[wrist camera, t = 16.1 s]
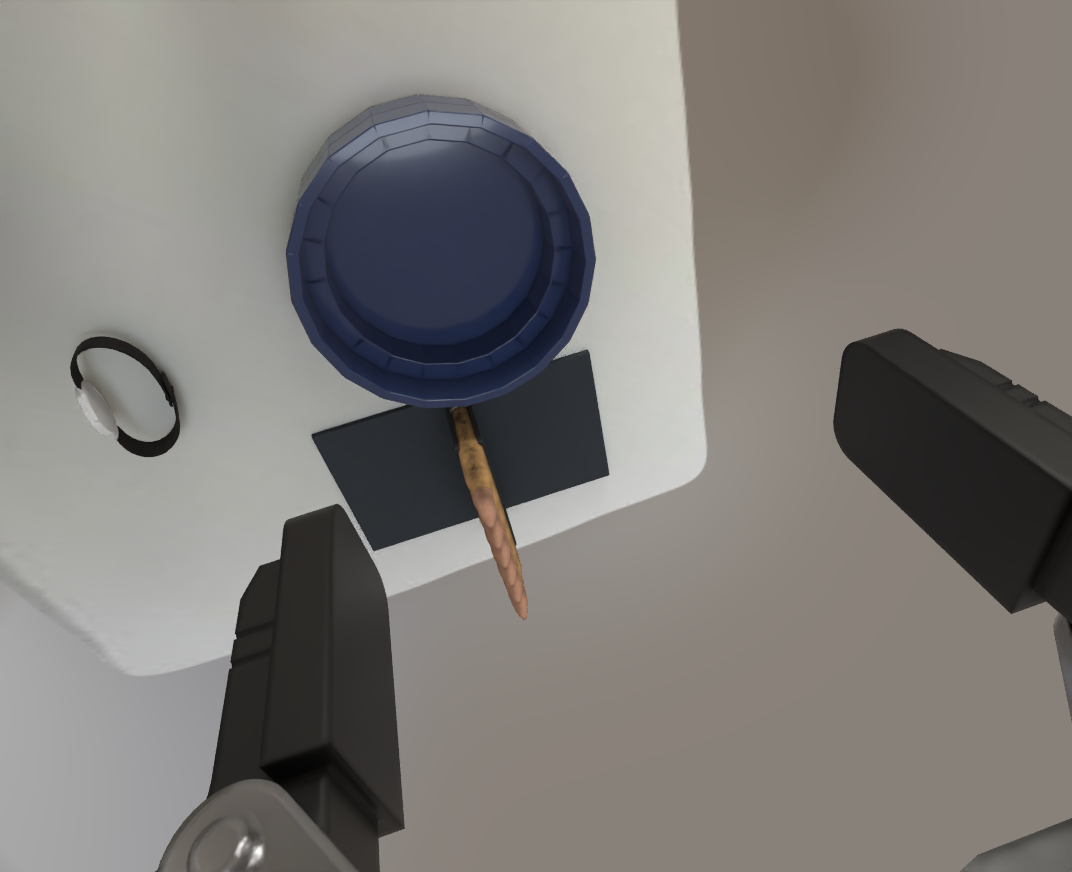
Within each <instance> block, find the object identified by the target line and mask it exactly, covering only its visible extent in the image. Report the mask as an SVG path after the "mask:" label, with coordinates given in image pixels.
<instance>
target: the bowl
mask: <svg viewBox="0 0 1072 872" xmlns="http://www.w3.org/2000/svg"><path fill="white" fill-rule="evenodd" d="M286 260H287V269H288V277H289V286H290V294H291V301H292V304H293V306H294V308H295V310H296V312H297V314H298V316H299V318H300V320H301V323H302V325H303V327H304V329H305V331H306V333H307V335H308V337H309V339H310V341H311V343H312V344H313V346H314V347H315V348H316V349H317V350H318V351H319V352H320V353H321V354H322V355H323V356H324V357H325V358H326V359H327V360H328V361H329V362H330V363H331V364H332V365H333V366H334V367H335V368H336V369H337V370H338V371H339V372H340V374H341V375H342V376H344V377H345V378H346V379H348V380H350V381H352V382H354V383H355V384H357V385H359V386H361V387H363V388H364V389H366V390H368V391H370V392H372V393H373V394H375V395H377V396H379V397H381V398H383V399H387V400H391V401H396V402H400V403H404V404H408V405H413V406H417V407H421V408H442V407H466V406H470V405H473V404H476V403H480V402H483V401H486V400H489V399H493V398H496V397H499V396H502V395H505V394H507V393H509V392H511V391H512V390H514V389H515V388H517V387H519V386H520V385H522V384H523V383H525V382H527V381H528V380H530V379H531V378H533V377H534V376H536V375H538V374H539V373H541V372H542V371H543V370H544V369H545V368H546V367H547V365H548V364H549V363H550V362H551V361H552V360H553V359H554V358H555V357H556V356H557V355H558V353H559V352H560V351H561V350H562V349H563V348H564V347H565V346H566V345H567V344H568V343H569V341H570V340H571V338H572V336H573V334H574V332H575V330H576V328H577V326H578V324H579V322H580V320H581V318H582V316H583V313H584V311H585V309H586V307H587V305H588V303H589V297H590V291H591V285H592V280H593V274H594V268H595V262H596V261H595V260H596V257H595V250H594V243H593V236H592V229H591V222H590V216H589V213H588V211H587V209H586V207H585V205H584V203H583V201H582V199H581V197H580V195H579V193H578V191H577V189H576V187H575V185H574V183H573V181H572V179H571V177H570V175H569V173H567V171H566V170H565V169H564V168H563V167H562V166H561V165H560V164H559V163H558V162H557V161H556V160H555V159H554V158H553V157H552V156H551V155H550V154H549V153H548V152H547V151H546V150H545V149H544V148H543V147H542V146H541V145H540V144H539V143H538V142H536V141H535V140H534V139H533V138H532V137H531V136H530V135H529V134H528V133H526V132H525V131H524V130H523V129H522V128H521V127H520V126H518V125H517V124H516V123H515V122H514V121H513V120H511V119H510V118H507V117H505V116H503V115H501V114H499V113H497V112H495V111H492V110H490V109H488V108H486V107H484V106H482V105H480V104H477V103H475V102H473V101H471V100H469V99H468V100H467V99H464V98H453V97H443V96H432V95H421V94H420V95H413V96H409V97H406V98H402V99H398V100H394V101H391V102H387V103H383V104H380V105H376V106H372V107H370V108H368V109H367V110H365V111H364V112H362V113H361V114H360V115H358V116H357V117H355V118H354V119H353V120H351V121H350V122H348V123H347V124H346V125H344V126H343V127H341V128H340V129H339V130H337V131H336V132H334V133H333V134H332V135H331V136H330V137H328V139H327V140H326V142H325V143H324V145H323V146H322V148H321V149H320V151H319V152H318V154H317V155H316V157H315V158H314V160H313V161H312V163H311V164H310V166H309V167H308V169H307V170H306V172H305V173H304V175H303V177H302V181H301V185H300V189H299V193H298V197H297V202H296V206H295V210H294V214H293V219H292V223H291V228H290V233H289V238H288V243H287V248H286Z"/></svg>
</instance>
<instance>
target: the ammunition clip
mask: <svg viewBox="0 0 1072 872" xmlns="http://www.w3.org/2000/svg"><path fill="white" fill-rule="evenodd" d="M444 408H445V413H446V417H447V421H448V425H449V429H450V433H451V437H452V441H453V445H454V449H455V452H456V455H457V457H458V460H459V463H460V466H461V468H462V471H463V474H464V478H465V481H466V484H467V486H468V488H469V490H470V493H471V496H472V500H473V503H474V505H475V507H476V509H477V511H478V515H479V519H480V522H481V524H482V526H483V528H484V531H485V534H486V538H487V540H488V543H489V544H490V546H491V550H492V554H493V556H494V559H495V561H496V562H497V566H498V569H499V573H500V575H501V577H502V578H503V581H504V584H505V586H506V589H507V591H508V594H509V597H510V600H511V602H512V605H513V606H514V609H515V610H516V612H517V614H518V615H519V616H520V617H521V618H522V619H523V620H525V619H526V617H527V612H528V605H527V596H526V591H525V587H524V582H523V578H522V569H521V563H520V560H519V557H518V553H517V550H516V546H515V545H516V540H515V537H514V534H513V531H512V528H511V524H510V521H509V518H508V515H507V511H506V508H505V505H504V502H503V499H502V495H501V492H500V489H499V486H498V483H497V480H496V477H495V474H494V471H493V468H492V465H491V462H490V459H489V456H488V453H487V450H486V447H485V444H484V441H483V438H482V435H481V432H480V429H479V426H478V423H477V419H476V416H475V413H474V410H473V407H472V405H470V406H466V407H444Z"/></svg>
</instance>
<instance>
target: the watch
mask: <svg viewBox="0 0 1072 872" xmlns="http://www.w3.org/2000/svg"><path fill="white" fill-rule="evenodd" d="M90 348H109V349H113V350H117V351H119V352H122V353H125V354H127V355H129V356H131V357H132V358H134V359H136V360H137V361H139V362H140V363H141V364H142V365H143V366H145V367H146V368H147V369H148V370H149V371H150V372H151V374H152V375H153V376H154V377H155V379H156V380H157V382H158V383H159V385H160V386H161V388H162V389H163V391H164V393H165V397H166V400H167V401H168V402H169V405H170V406H171V407H173V406H174V410H175V414H176V422H175V425H174V427H173V429H172V430H171V432H170V433H169V434H168V435H167V436H166V437H164V438H162V439H160V440H157V441H153V442H144V441H139V440H137V439H134V438H132V437H131V436H129V435H127V434H126V433H125V432H124V431H123V430H122V429H121V428H120V427H119V426H117V425H116V421H115V418H114V416H113V414H112V412H111V410H110V408H109V407H108V405H107V404H106V402H105V400H104V399H103V397H102V396H101V394H100V393H99V392H98V391H97V390H96V389H95V388H94V386H93V385H91V384H90V383H88V382H87V381H84V380H83V377H82V375H81V373H80V371H79V369H78V365H77V356H78V355H79V354H80V353H81V352H82V351H85V350H87V349H90ZM70 370H71V376H72V379H73V381H74V383H75V385H76V386H77V387H76V388H75V391H76V398H77V400H78V402H79V404H80V407H81V409H82V410H83V412H84V414H85V416H86V417H87V419H88V420H89V422H90V423H91V424H92V426H93V427H94V428H95V429H96V430H97V431H98V432H99V433H101V434H102V435H104V436H106V437H107V436H109V435H111V436H114V438H115V440H116V441H118V442H119V443H120V444H121V445H122V446H123V447H124V448H125V449H126V450H128V451H129V452H131V453H133V454H135V455H138V456H142V457H155V456H159V455H162V454H164V453H166V452H167V451H168V450H169V449H171V448H172V447H173V445H174V444H175V442H176V441H177V439H178V436H179V432H180V421H179V414H178V407H177V402H176V398H175V395H174V390H173V386H171V385H170V383H169V381H168V379H167V377H166V375H165V373H164V372H161V373H160V372H159V370H158V369H157V367H156V366H155V365H154V363H153V362H152V361H151V360H150V359H149V358H148V357H147V356H146V355H145V354H144V353H143V352H142V351H140V350H139V349H138V348H136V347H134V346H133V345H131V344H129V343H127V342H125V341H122V340H119V339H116V338H111V337H93V338H89V339H87V340H85V341H83V342H82V343H81V344H80V345H79V346H78V347H77V349H76V351H75V353H74V355H73V358H72V361H71V366H70ZM172 403H173V405H172Z"/></svg>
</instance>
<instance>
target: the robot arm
mask: <svg viewBox="0 0 1072 872" xmlns="http://www.w3.org/2000/svg"><path fill="white" fill-rule="evenodd" d="M833 424H834V432H835V436H836V439H837V442H838V444H839V446H840V448H841V449H842V451H843V453H844V454H845V455H846V456H847V457H848V458H849V460H851V461H852V462H853V463H854V464H855V465H856V466H857V467H858V468H859V469H860V470H861V471H862V472H863V473H864V474H865V475H866V476H867V477H868V478H869V479H871V480H872V481H873V482H874V483H875V484H876V485H877V486H878V487H879V488H880V489H881V490H882V491H883V492H884V493H885V494H886V495H887V496H888V497H890V499H891V500H892V501H893V502H894V503H896V504H897V505H898V506H899V507H900V508H901V509H902V510H903V511H904V512H905V513H906V514H907V515H908V516H909V517H910V518H911V519H912V520H913V521H914V522H915V523H916V524H918V525H919V526H920V527H921V528H922V529H923V530H924V531H925V532H926V533H927V534H928V535H929V536H930V537H931V538H932V539H933V540H934V541H935V542H936V543H937V544H938V545H939V546H941V547H942V548H943V549H944V550H945V551H946V552H947V553H948V554H949V555H950V556H951V557H952V558H953V559H954V560H955V561H956V562H957V563H958V564H959V565H961V567H963V568H964V569H965V570H966V571H967V572H968V573H969V574H970V575H971V576H972V577H973V578H974V579H975V580H976V581H977V582H978V583H979V584H980V585H981V586H982V587H983V588H984V589H986V590H987V591H988V592H989V593H990V594H991V595H992V596H993V597H994V598H995V599H996V600H997V601H998V602H999V603H1000V604H1001V605H1002V606H1004V608H1005V609H1006V610H1008V611H1009V612H1010V613H1011V614H1012V613H1015V612H1018V611H1021V610H1024V609H1026V608H1029V607H1032V606H1035V605H1038V604H1040V603H1043V602H1046V601H1047V602H1048V603H1049V604H1050V605H1051V606H1052V607H1053V608H1054V609H1056V610H1057V611H1058V612H1059V613H1058V615H1057V616H1056V618H1055V621H1054V635H1055V640H1056V645H1057V650H1058V655H1059V660H1060V665H1061V670H1062V675H1063V680H1064V685H1065V690H1066V695H1067V700H1068V705H1069V710H1070V715H1071V720H1072V417H1071V416H1070V415H1068V414H1066V413H1065V412H1063V411H1061V410H1059V409H1058V408H1057V407H1055V406H1053V405H1052V404H1050V403H1048V402H1047V401H1043V402H1040V401H1039V400H1038V396H1037V395H1035V394H1033V393H1031V392H1030V391H1028V390H1027V389H1025V388H1024V387H1022V386H1020V385H1019V384H1018V385H1015V386H1014V385H1013V384H1012V380H1010V379H1009V378H1007V377H1005V376H1004V375H1002V374H1000V373H999V372H997V371H996V370H994V369H992V368H991V367H989V366H987V365H986V364H984V363H982V362H980V361H978V360H974V359H971V358H968V357H965V356H962V355H959V354H955V353H952V352H949V351H946V350H943V349H940V350H938V349H936V348H935V347H933V346H932V345H930V344H928V343H927V342H925V341H924V340H922V339H920V338H919V337H917V336H916V335H914V334H912V333H911V332H909V331H907V330H904V329H893V330H890V331H887V332H884V333H881V334H878V335H875V336H871V337H868V338H865V339H862V340H859V341H856V342H852V343H850V344H849V345H848V346H847V347H846V348H845V350H844V352H843V355H842V361H841V368H840V376H839V383H838V390H837V398H836V406H835V413H834V421H833ZM235 634H236V637H237V639H236V640H234V643H233V649H232V656H231V661H230V662H231V663H232V668H231V669H230V670H229V674H228V681H227V687H226V693H225V699H224V705H223V711H222V718H221V724H220V730H219V737H218V743H217V749H216V755H215V761H214V767H213V774H212V780H211V784H210V789H209V793H208V796H207V799H206V800H205V801H204V802H202V803H201V804H200V805H199V806H198V807H197V808H196V809H195V810H194V811H193V812H192V813H191V814H190V815H189V816H188V817H187V819H186V820H185V821H184V822H183V823H182V825H181V826H180V827H179V829H178V830H177V831H176V833H175V834H174V836H173V837H172V839H171V841H170V843H169V844H168V846H167V848H166V850H165V852H164V854H163V857H162V859H161V861H160V864H159V867H158V870H157V871H156V872H380V866H379V842H378V838H380V837H382V836H385V835H388V834H391V833H393V832H396V831H399V830H402V829H404V828H405V827H404V814H403V800H402V787H401V773H400V760H399V748H398V733H397V720H396V706H395V693H394V679H393V666H392V653H391V639H390V626H389V613H388V603H387V597H386V593H385V589H384V585H383V582H382V579H381V577H380V574H379V572H378V570H377V568H376V566H375V564H374V562H373V560H372V558H371V557H370V555H369V553H368V551H367V549H366V548H365V546H364V544H363V542H362V540H361V539H360V537H359V535H358V533H357V531H356V530H355V528H354V526H353V524H352V522H351V521H350V519H349V517H348V515H347V514H346V512H345V510H344V509H343V508H342V507H341V506H340V505H339V504H335V505H332V506H329V507H326V508H322V509H319V510H316V511H313V512H310V513H307V514H303V515H300V516H297V517H294V518H291V519H288V520H287V521H286V522H285V524H284V529H283V538H282V547H281V557H280V560H276V561H273V562H270V563H267V564H264V565H261V566H259V568H258V570H257V571H256V573H255V575H254V577H253V578H252V580H251V582H250V584H249V585H248V587H247V589H246V591H245V592H244V594H243V596H242V598H241V599H240V606H239V612H238V618H237V624H236V630H235ZM960 872H1072V818H1071V819H1069V820H1066V821H1063V822H1061V823H1058V824H1056V825H1053V826H1051V827H1048V828H1046V829H1043V830H1040V831H1038V832H1036V833H1033V834H1030V835H1028V836H1025V837H1023V838H1020V839H1017V840H1015V841H1012V842H1010V843H1007V844H1004V845H1002V846H999V847H997V848H994V849H992V850H989V851H987V852H984V853H981V854H979V855H977V856H976V857H975V858H974V859H973V860H972V861H971V862H970V863H969V864H968V865H966V866H965V867H964V868H963V869H962V870H961V871H960Z"/></svg>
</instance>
